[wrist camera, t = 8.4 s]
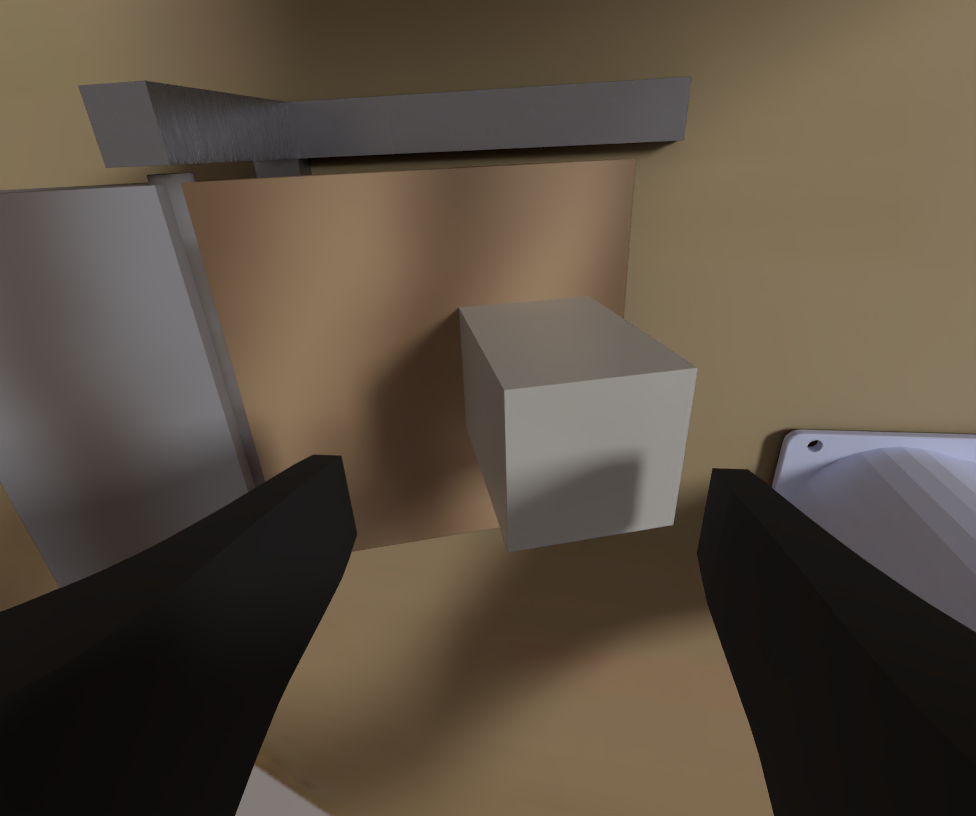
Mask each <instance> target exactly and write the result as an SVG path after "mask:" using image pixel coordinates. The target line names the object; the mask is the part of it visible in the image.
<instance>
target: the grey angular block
mask: <svg viewBox="0 0 976 816" xmlns="http://www.w3.org/2000/svg"><path fill="white" fill-rule="evenodd" d="M690 84H691V77H676V78H660V79H645V80H629V81H613V82H597V83H582V84H566V85H550V86H534V87H519V88H503V89H487V90H471V91H456V92H440V93H424V94H409V95H393V96H377V97H361V98H346V99H330V100H314V101H298V102H283V101H276V100H269V99H263V98H256V97H249V96H243V95H236V94H229V93H223V92H216V91H210V90H203V89H196V88H190V87H183V86H176V85H170V84H163V83H157V82H150V81H135V82H121V83H108V84H94V85H80V86H78V87H79V90H80V92H81V95H82V98H83V101H84V104H85V107H86V110H87V113H88V116H89V119H90V122H91V125H92V128H93V131H94V134H95V137H96V140H97V143H98V146H99V149H100V152H101V154H102V157H103V160H104V163H105V166H106V168H115V167H136V166H157V165H178V164H198V163H218V162H237V161H253V164H254V168H255V173H256V177H257V178H265V177H284V176H303V175H311V169H310V164H309V158H318V157H339V156H360V155H382V154H403V153H425V152H446V151H467V150H489V149H510V148H531V147H553V146H574V145H596V144H617V143H638V142H660V141H681V140H684V136H685V128H686V119H687V110H688V101H689V92H690Z"/></svg>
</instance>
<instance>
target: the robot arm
mask: <svg viewBox="0 0 976 816" xmlns="http://www.w3.org/2000/svg"><path fill="white" fill-rule="evenodd" d="M814 440H818V443H817V444H816V445H814V446H812V447H807V446H808V444H809V443H810V442H812V441H814ZM356 537H357V530H356V525H355V520H354V515H353V510H352V505H351V500H350V495H349V490H348V485H347V480H346V475H345V470H344V465H343V460H342V455H314V454H313V455H311V456H309V457H307V458H305V459H303V460H301V461H300V462H298V463H296V464H294V465H292V466H291V467H289V468H287V469H286V470H284V471H282V472H281V473H279V474H277V475H276V476H274V477H272V478H271V479H269V480H267V481H266V482H264V483H262V484H261V485H259V486H257V487H256V488H254V489H252V490H251V491H249V492H248V493H246V494H244V495H243V496H241V497H239V498H238V499H236V500H234V501H233V502H231V503H229V504H228V505H226V506H224V507H223V508H221V509H219V510H217V511H216V512H214V513H212V514H210V515H208V516H207V517H205V518H203V519H201V520H199V521H198V522H196V523H194V524H192V525H191V526H189V527H187V528H185V529H183V530H182V531H180V532H178V533H176V534H175V535H173V536H171V537H169V538H167V539H165V540H163V541H161V542H160V543H158V544H156V545H154V546H152V547H150V548H148V549H146V550H144V551H142V552H140V553H138V554H136V555H134V556H131V557H129V558H127V559H125V560H123V561H121V562H119V563H117V564H115V565H112V566H110V567H108V568H106V569H104V570H102V571H100V572H97V573H95V574H93V575H91V576H88V577H86V578H83V579H81V580H79V581H76V582H74V583H71V584H69V585H66V586H64V587H62V588H59V589H57V590H54V591H52V592H49V593H47V594H44V595H42V596H40V597H37V598H35V599H32V600H30V601H27V602H25V603H23V604H20V605H18V606H15V607H12V608H10V609H7V610H4V611H2V612H0V816H235V814H236V811H237V809H238V806H239V803H240V801H241V798H242V795H243V793H244V790H245V787H246V785H247V782H248V779H249V776H250V774H251V771H252V769H253V766H254V763H255V761H256V758H257V756H258V753H259V751H260V748H261V746H262V743H263V741H264V738H265V736H266V733H267V731H268V728H269V726H270V723H271V721H272V718H273V716H274V713H275V711H276V708H277V706H278V704H279V702H280V700H281V697H282V695H283V693H284V691H285V689H286V687H287V685H288V683H289V680H290V678H291V677H292V675H293V673H294V671H295V669H296V667H297V665H298V663H299V661H300V659H301V657H302V655H303V653H304V652H305V650H306V648H307V646H308V644H309V642H310V640H311V638H312V636H313V634H314V632H315V630H316V628H317V626H318V625H319V623H320V621H321V619H322V617H323V615H324V613H325V611H326V609H327V607H328V605H329V603H330V601H331V599H332V597H333V595H334V593H335V591H336V589H337V587H338V585H339V583H340V581H341V579H342V577H343V574H344V571H345V569H346V566H347V563H348V561H349V558H350V555H351V552H352V549H353V546H354V543H355V540H356ZM697 556H698V561H699V566H700V571H701V576H702V581H703V586H704V590H705V595H706V599H707V604H708V607H709V610H710V613H711V616H712V619H713V621H714V624H715V627H716V630H717V633H718V636H719V639H720V642H721V645H722V648H723V650H724V653H725V656H726V659H727V662H728V665H729V667H730V670H731V673H732V676H733V679H734V682H735V684H736V687H737V690H738V693H739V696H740V699H741V702H742V704H743V707H744V710H745V713H746V716H747V719H748V721H749V724H750V727H751V731H752V734H753V737H754V740H755V744H756V747H757V750H758V753H759V757H760V761H761V765H762V769H763V773H764V777H765V781H766V785H767V789H768V793H769V797H770V801H771V805H772V809H773V813H774V816H976V435H974V434H939V433H904V432H869V431H834V430H794V431H792V432H790V433H788V434H787V435H786V436H785V438H784V440H783V443H782V447H781V451H780V455H779V459H778V463H777V467H776V471H775V475H774V479H773V483H772V487H770V486H769V485H768V484H766V483H765V482H764V481H763V480H761V479H760V478H759V477H757V476H756V475H755V474H753V473H752V472H750V471H749V470H745V469H717V468H713V469H712V474H711V480H710V485H709V491H708V496H707V502H706V507H705V513H704V518H703V524H702V529H701V535H700V540H699V545H698V551H697Z"/></svg>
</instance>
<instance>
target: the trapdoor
mask: <svg viewBox="0 0 976 816" xmlns="http://www.w3.org/2000/svg"><path fill="white" fill-rule="evenodd" d="M635 166H636V159H609V160H590V161H571V162H552V163H533V164H513V165H494V166H475V167H456V168H437V169H418V170H399V171H380V172H361V173H342V174H322V175H303V176H284V177H265V178H246V179H227V180H208V181H195V178H194V174H193V173H172V174H155V175H147V177H148V181H149V183H133V184H114V185H94V186H75V187H56V188H37V189H18V190H0V482H1V484H2V486H3V488H4V489H5V491H6V493H7V495H8V497H9V498H10V500H11V502H12V504H13V505H14V507H15V509H16V511H17V513H18V514H19V516H20V518H21V520H22V522H23V523H24V525H25V527H26V529H27V530H28V532H29V534H30V536H31V538H32V539H33V541H34V543H35V545H36V546H37V548H38V550H39V552H40V554H41V555H42V557H43V559H44V561H45V563H46V564H47V566H48V568H49V570H50V571H51V573H52V575H53V577H54V579H55V580H56V582H57V584H58V586H59V588H62V587H64V586H66V585H69V584H71V583H74V582H76V581H79V580H81V579H83V578H86V577H88V576H91V575H93V574H95V573H97V572H100V571H102V570H104V569H106V568H108V567H110V566H112V565H115V564H117V563H119V562H121V561H123V560H125V559H127V558H129V557H131V556H134V555H136V554H138V553H140V552H142V551H144V550H146V549H148V548H150V547H152V546H154V545H156V544H158V543H160V542H161V541H163V540H165V539H167V538H169V537H171V536H173V535H175V534H176V533H178V532H180V531H182V530H183V529H185V528H187V527H189V526H191V525H192V524H194V523H196V522H198V521H199V520H201V519H203V518H205V517H207V516H208V515H210V514H212V513H214V512H216V511H217V510H219V509H221V508H223V507H224V506H226V505H228V504H229V503H231V502H233V501H234V500H236V499H238V498H239V497H241V496H243V495H244V494H246V493H248V492H249V491H251V490H252V489H254V488H256V487H257V486H259V485H261V484H262V483H264V482H266V481H267V480H269V479H271V478H272V477H274V476H276V475H277V474H279V473H281V472H282V471H284V470H286V469H287V468H289V467H291V466H292V465H294V464H296V463H298V462H300V461H301V460H303V459H305V458H307V457H309V456H311V455H313V454H314V455H342V460H343V465H344V470H345V475H346V480H347V485H348V490H349V495H350V500H351V505H352V510H353V515H354V520H355V525H356V530H357V537H356V540H355V543H354V546H353V549H352V551H358V550H364V549H371V548H377V547H383V546H389V545H395V544H401V543H407V542H414V541H420V540H426V539H432V538H438V537H444V536H450V535H457V534H463V533H469V532H475V531H481V530H487V529H493V528H499V527H500V526H499V523H498V520H497V517H496V514H495V511H494V508H493V505H492V502H491V499H490V496H489V493H488V490H487V487H486V484H485V481H484V478H483V475H482V472H481V469H480V466H479V463H478V460H477V458H476V455H475V452H474V449H473V446H472V443H471V440H470V437H469V434H468V431H467V428H466V412H465V396H464V380H463V365H462V349H461V333H460V317H459V307H470V306H481V305H492V304H504V303H515V302H526V301H537V300H548V299H560V298H571V297H582V296H590V297H592V298H593V299H595V300H596V301H598V302H599V303H601V304H602V305H604V306H605V307H607V308H608V309H610V310H611V311H613V312H614V313H616V314H617V315H619V316H620V317H622V318H623V319H624V307H625V294H626V282H627V269H628V256H629V243H630V230H631V217H632V205H633V192H634V179H635Z"/></svg>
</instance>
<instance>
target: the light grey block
mask: <svg viewBox="0 0 976 816" xmlns="http://www.w3.org/2000/svg"><path fill="white" fill-rule="evenodd" d="M459 317H460V333H461V349H462V365H463V380H464V396H465V412H466V428H467V431H468V434H469V437H470V440H471V443H472V446H473V449H474V452H475V455H476V458H477V460H478V463H479V466H480V469H481V472H482V475H483V478H484V481H485V484H486V487H487V490H488V493H489V496H490V499H491V502H492V505H493V508H494V511H495V514H496V517H497V520H498V523H499V526H500V529H501V532H502V535H503V538H504V541H505V544H506V547H507V550H508V552H514V551H520V550H526V549H532V548H538V547H544V546H550V545H556V544H562V543H568V542H574V541H580V540H586V539H592V538H598V537H604V536H610V535H616V534H622V533H628V532H634V531H640V530H646V529H652V528H658V527H664V526H670V525H673V523H674V517H675V511H676V504H677V498H678V491H679V485H680V478H681V472H682V466H683V459H684V453H685V446H686V440H687V434H688V427H689V421H690V414H691V408H692V401H693V395H694V389H695V382H696V376H697V369H698V368H697V367H696V366H694V365H693V364H691V363H690V362H688V361H687V360H685V359H684V358H682V357H681V356H679V355H678V354H676V353H675V352H673V351H672V350H670V349H669V348H667V347H666V346H664V345H663V344H661V343H660V342H658V341H657V340H655V339H653V338H652V337H650V336H649V335H647V334H646V333H644V332H643V331H641V330H640V329H638V328H637V327H635V326H634V325H632V324H631V323H629V322H628V321H626V320H625V319H623V318H622V317H620V316H619V315H617V314H616V313H614V312H613V311H611V310H610V309H608V308H607V307H605V306H604V305H602V304H601V303H599V302H598V301H596V300H595V299H593V298H592V297H590V296H582V297H571V298H560V299H548V300H537V301H526V302H515V303H504V304H492V305H481V306H470V307H459Z"/></svg>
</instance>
